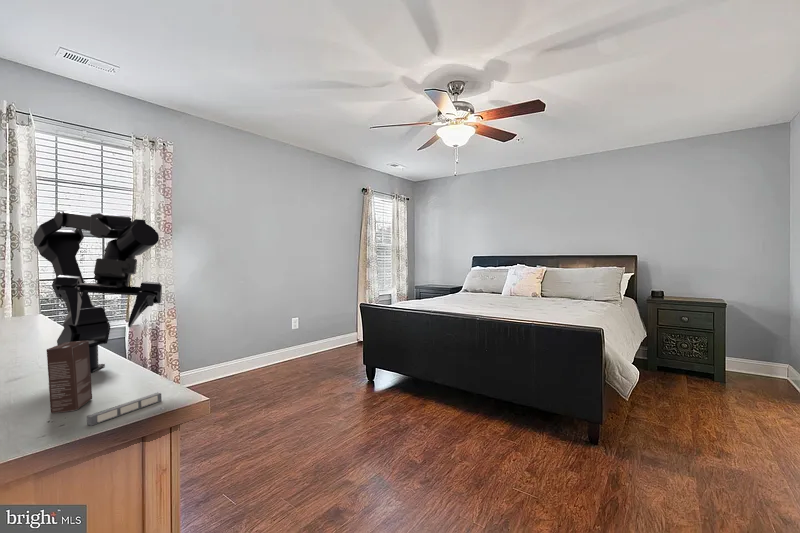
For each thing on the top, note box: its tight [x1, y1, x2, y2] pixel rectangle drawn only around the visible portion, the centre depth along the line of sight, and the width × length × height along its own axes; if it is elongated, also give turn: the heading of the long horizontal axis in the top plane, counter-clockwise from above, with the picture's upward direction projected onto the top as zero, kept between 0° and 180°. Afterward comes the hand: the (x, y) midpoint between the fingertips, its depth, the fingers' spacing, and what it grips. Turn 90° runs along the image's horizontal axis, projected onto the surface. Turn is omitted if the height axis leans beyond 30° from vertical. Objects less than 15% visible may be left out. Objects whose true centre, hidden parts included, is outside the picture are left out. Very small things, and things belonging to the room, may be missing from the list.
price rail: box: [86, 391, 162, 427], centre depth 68 cm, size 1×12×2 cm, turn 156°
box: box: [46, 340, 93, 414], centre depth 71 cm, size 6×4×12 cm
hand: (102, 325), depth 78 cm, fingers open, 9 cm apart
